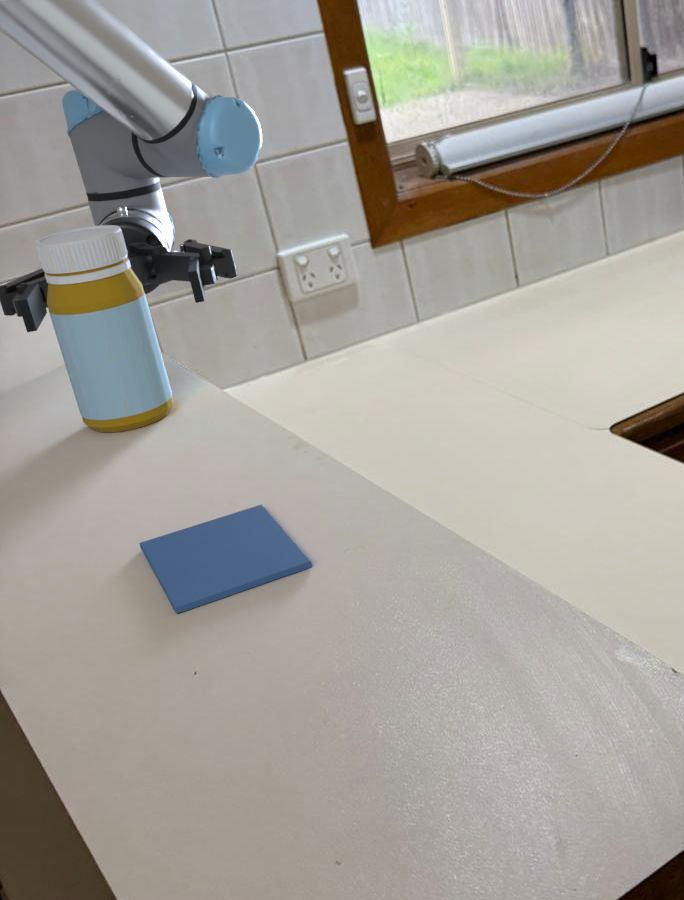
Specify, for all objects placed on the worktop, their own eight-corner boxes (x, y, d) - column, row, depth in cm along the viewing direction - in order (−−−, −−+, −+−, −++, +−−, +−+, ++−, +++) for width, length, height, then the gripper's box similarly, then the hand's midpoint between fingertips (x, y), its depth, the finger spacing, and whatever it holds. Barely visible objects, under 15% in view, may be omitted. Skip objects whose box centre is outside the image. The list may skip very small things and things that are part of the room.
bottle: (126, 401, 96) (75, 225, 90) (193, 403, 94) (145, 222, 88) (66, 433, 90) (7, 247, 84) (136, 436, 88) (80, 245, 82)
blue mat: (312, 567, 65) (310, 561, 64) (176, 614, 61) (174, 608, 61) (263, 509, 73) (261, 503, 72) (140, 548, 69) (139, 542, 69)
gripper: (-15, 237, 111) (-63, 284, 92) (247, 196, 117) (253, 232, 98) (9, 311, 114) (-33, 371, 95) (263, 268, 119) (272, 316, 101)
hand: (113, 301), depth 96 cm, fingers open, 13 cm apart
